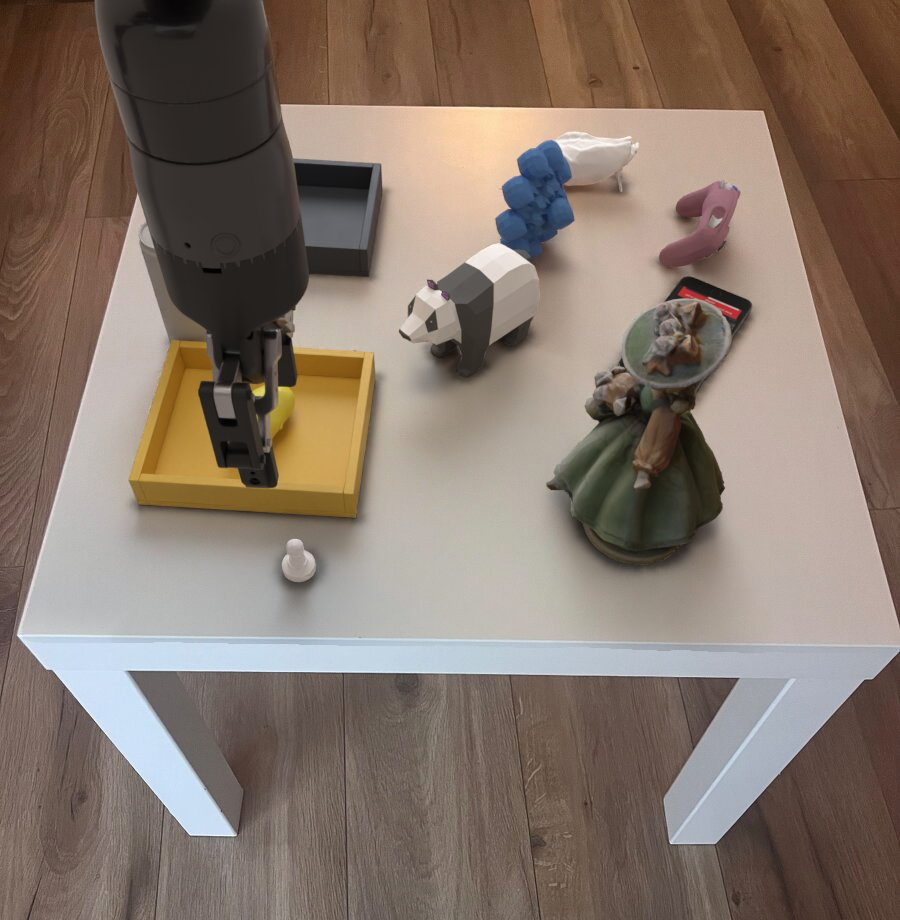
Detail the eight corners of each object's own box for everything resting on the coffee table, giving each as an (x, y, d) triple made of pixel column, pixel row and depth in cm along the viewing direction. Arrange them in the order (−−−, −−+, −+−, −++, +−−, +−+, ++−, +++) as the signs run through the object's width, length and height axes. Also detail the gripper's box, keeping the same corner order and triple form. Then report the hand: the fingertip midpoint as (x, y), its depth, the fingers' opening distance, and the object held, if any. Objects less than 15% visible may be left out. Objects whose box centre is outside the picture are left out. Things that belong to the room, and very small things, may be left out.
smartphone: (755, 302, 87) (689, 399, 80) (752, 308, 87) (687, 404, 81) (685, 273, 89) (615, 365, 82) (683, 279, 89) (613, 371, 82)
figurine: (549, 423, 79) (583, 222, 62) (711, 439, 79) (791, 241, 62) (539, 561, 72) (574, 375, 55) (719, 580, 71) (812, 398, 54)
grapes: (536, 307, 87) (551, 194, 77) (476, 280, 89) (483, 166, 78) (593, 242, 92) (614, 127, 82) (535, 218, 94) (549, 103, 84)
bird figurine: (607, 173, 100) (522, 156, 97) (636, 122, 94) (547, 103, 91) (613, 208, 99) (526, 192, 96) (643, 159, 92) (551, 140, 90)
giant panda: (499, 301, 87) (507, 213, 79) (541, 332, 85) (554, 244, 77) (383, 375, 82) (379, 288, 74) (425, 409, 80) (425, 324, 71)
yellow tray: (138, 504, 74) (127, 480, 71) (179, 366, 82) (171, 339, 79) (355, 518, 73) (353, 494, 71) (375, 377, 82) (373, 351, 79)
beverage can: (162, 357, 82) (125, 243, 72) (186, 322, 85) (153, 207, 74) (211, 369, 82) (181, 256, 71) (234, 333, 84) (207, 219, 74)
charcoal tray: (209, 267, 89) (202, 240, 86) (234, 181, 96) (229, 154, 93) (368, 276, 89) (367, 249, 86) (382, 190, 96) (381, 163, 93)
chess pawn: (316, 555, 71) (312, 528, 68) (315, 582, 70) (310, 557, 67) (283, 555, 71) (277, 529, 68) (281, 583, 70) (275, 557, 67)
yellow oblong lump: (311, 415, 78) (306, 382, 75) (249, 474, 75) (241, 442, 71) (273, 394, 79) (267, 361, 76) (210, 451, 76) (201, 419, 72)
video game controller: (688, 289, 91) (738, 242, 85) (652, 262, 90) (700, 213, 84) (706, 229, 96) (754, 182, 90) (672, 203, 95) (719, 153, 89)
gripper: (177, 121, 49) (233, 350, 63) (112, 302, 41) (192, 517, 55) (317, 128, 49) (342, 356, 62) (277, 310, 41) (315, 523, 55)
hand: (271, 431), depth 59 cm, fingers open, 8 cm apart
